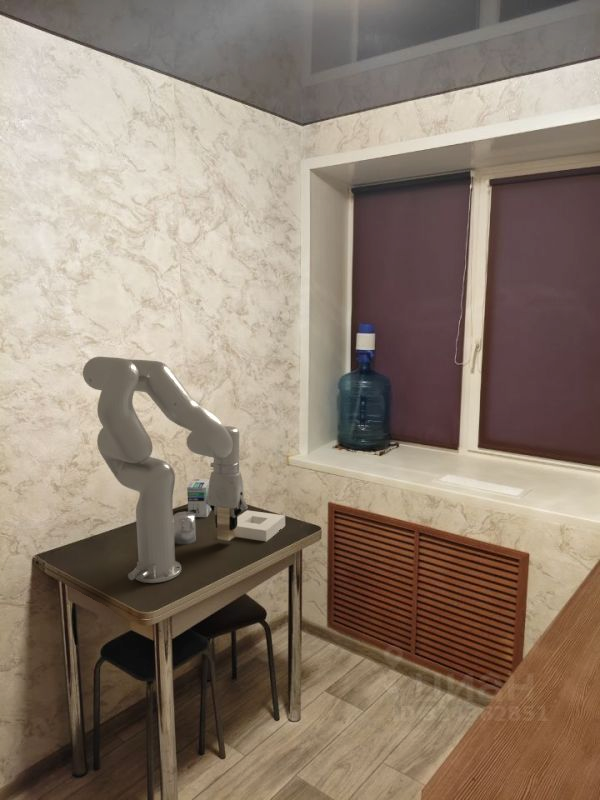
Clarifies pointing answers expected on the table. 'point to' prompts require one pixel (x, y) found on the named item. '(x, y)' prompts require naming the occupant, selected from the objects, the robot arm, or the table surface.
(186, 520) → the clear glass cup
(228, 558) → the table surface
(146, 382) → the robot arm
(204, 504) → the light bulb box
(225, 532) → the square peg
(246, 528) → the socket block
